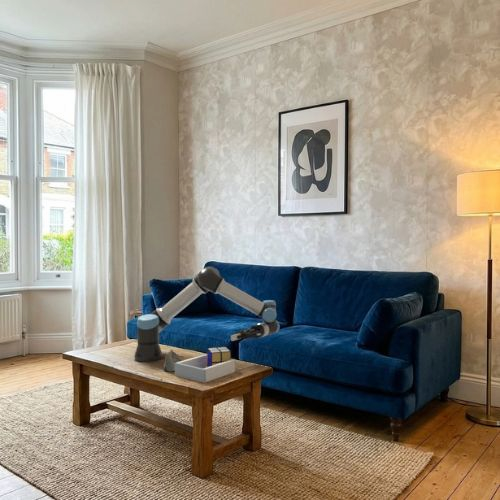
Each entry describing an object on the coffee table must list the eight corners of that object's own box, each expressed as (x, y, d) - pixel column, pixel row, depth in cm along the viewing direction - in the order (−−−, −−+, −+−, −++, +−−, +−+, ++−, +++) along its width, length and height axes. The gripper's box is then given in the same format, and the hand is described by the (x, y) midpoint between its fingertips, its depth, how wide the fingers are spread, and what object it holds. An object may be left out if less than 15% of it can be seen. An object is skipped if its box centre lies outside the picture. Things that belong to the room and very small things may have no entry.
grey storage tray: (206, 365, 254) (206, 354, 254) (235, 371, 242) (235, 359, 242) (174, 375, 237) (174, 363, 237) (203, 382, 225) (203, 369, 224)
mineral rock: (175, 364, 257) (175, 345, 257) (189, 367, 251) (189, 348, 250) (156, 369, 247) (155, 349, 247) (170, 373, 241) (170, 353, 240)
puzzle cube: (207, 367, 251) (207, 348, 250) (226, 365, 254) (226, 346, 253) (211, 372, 241) (211, 352, 241) (231, 371, 244) (231, 351, 244)
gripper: (268, 338, 269) (241, 346, 250) (250, 335, 277) (222, 343, 258) (268, 325, 268) (241, 332, 250) (250, 322, 277) (222, 329, 258)
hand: (231, 338), depth 254 cm, fingers closed
